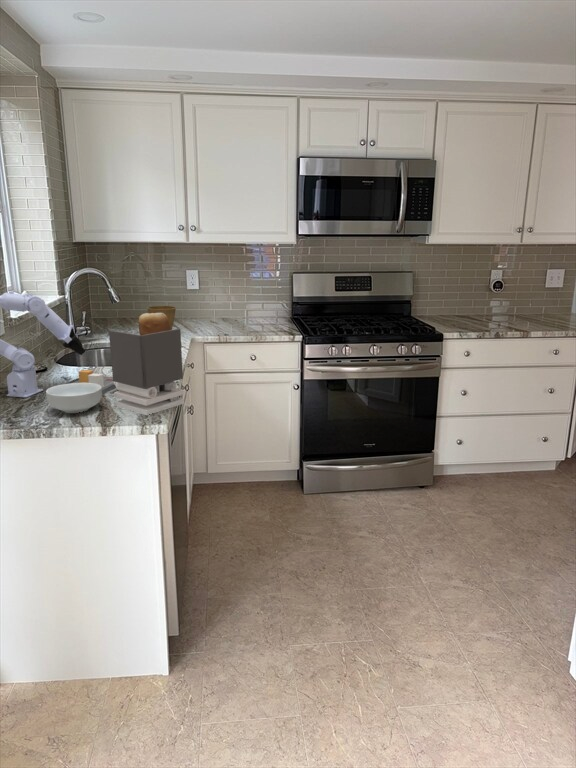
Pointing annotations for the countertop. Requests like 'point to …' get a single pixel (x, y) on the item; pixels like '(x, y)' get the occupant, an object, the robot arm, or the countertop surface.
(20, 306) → the robot arm
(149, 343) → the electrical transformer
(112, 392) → the cords
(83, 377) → the orange block
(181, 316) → the countertop surface
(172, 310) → the plant pot
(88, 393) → the cereal bowl
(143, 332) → the bread loaf
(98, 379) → the breaker panel
